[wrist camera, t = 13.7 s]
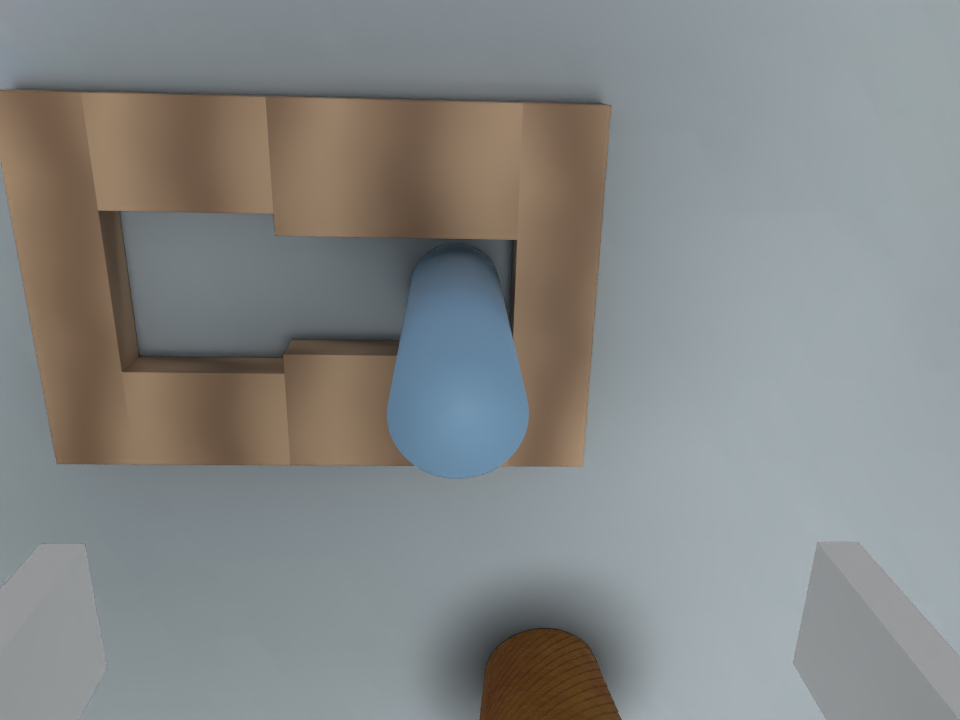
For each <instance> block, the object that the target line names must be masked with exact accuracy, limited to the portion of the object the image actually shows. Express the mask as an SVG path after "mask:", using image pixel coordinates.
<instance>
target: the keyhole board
mask: <svg viewBox="0 0 960 720" xmlns="http://www.w3.org/2000/svg"><path fill="white" fill-rule="evenodd" d="M610 116H611V105H606V104H591V103H551V102H510V101H469V100H429V99H388V98H348V97H307V96H266V95H226V94H185V93H144V92H104V91H63V90H23V89H10V90H0V162H1V167H2V172H3V178H4V183H5V189H6V194H7V199H8V205H9V210H10V215H11V221H12V226H13V232H14V237H15V242H16V248H17V253H18V259H19V264H20V269H21V275H22V280H23V285H24V291H25V296H26V302H27V307H28V312H29V318H30V323H31V329H32V334H33V339H34V345H35V350H36V355H37V361H38V366H39V372H40V377H41V382H42V388H43V393H44V399H45V404H46V409H47V415H48V420H49V425H50V431H51V436H52V442H53V447H54V452H55V458H56V463H57V464H150V465H360V466H415V465H413V464H412V463H411V462H409V461H408V460H407V459H406V458H405V457H404V456H403V455H402V454H401V452H400V451H399V450H398V448H397V447H396V445H395V443H394V442H393V440H392V437H391V435H390V432H389V428H388V423H387V405H388V400H389V395H390V390H391V385H392V379H393V374H394V369H395V364H396V358H397V353H398V348H399V343H400V341H361V340H291V342H290V344H289V345H288V347H287V349H286V350H285V352H284V354H283V358H235V357H140V356H139V352H138V344H137V337H136V330H135V322H134V315H133V308H132V300H131V293H130V286H129V278H128V271H127V264H126V257H125V249H124V242H123V235H122V227H121V220H120V213H119V211H152V212H206V213H261V214H273V215H274V230H275V236H323V237H381V238H440V239H498V240H513V258H512V283H511V308H510V328H511V333H512V337H513V341H514V345H515V350H516V354H517V358H518V362H519V367H520V371H521V375H522V379H523V384H524V388H525V392H526V396H527V401H528V407H529V419H528V426H527V430H526V433H525V436H524V438H523V440H522V442H521V444H520V445H519V447H518V449H517V450H516V451H515V452H514V454H513V455H512V456H511V457H510V458H509V459H508V460H507V461H506V462H504V463H503V464H502V465H500V466H569V467H583V457H584V444H585V432H586V419H587V407H588V394H589V381H590V369H591V356H592V343H593V331H594V318H595V305H596V293H597V280H598V268H599V255H600V242H601V230H602V217H603V204H604V192H605V179H606V167H607V154H608V141H609V129H610Z"/></svg>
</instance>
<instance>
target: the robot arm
mask: <svg viewBox="0 0 960 720" xmlns="http://www.w3.org/2000/svg"><path fill="white" fill-rule="evenodd" d="M793 664H794V666H795V667H796V669H797V671H798V672H799V674H800V676H801V677H802V679H803V681H804V683H805V684H806V686H807V688H808V689H809V691H810V693H811V694H812V696H813V698H814V699H815V701H816V703H817V705H818V706H819V708H820V710H821V711H822V713H823V715H824V716H825V718H826V720H960V656H959V655H958V654H957V653H956V652H955V651H954V649H953V648H952V647H951V646H950V645H949V644H948V643H947V642H946V640H945V639H944V638H943V637H942V636H941V635H940V634H939V632H938V631H937V630H936V629H935V628H934V627H933V626H932V625H931V623H930V622H929V621H928V620H927V619H926V618H925V617H924V616H923V614H922V613H921V612H920V611H919V610H918V609H917V608H916V607H915V605H914V604H913V603H912V602H911V601H910V600H909V599H908V597H907V596H906V595H905V594H904V593H903V592H902V591H901V590H900V588H899V587H898V586H897V585H896V584H895V583H894V582H893V581H892V579H891V578H890V577H889V576H888V575H887V574H886V573H885V571H884V570H883V569H882V568H881V567H880V566H879V565H878V564H877V562H876V561H875V560H874V559H873V558H872V557H871V556H870V555H869V553H868V552H867V551H866V550H865V549H864V548H863V547H862V546H861V544H860V543H859V542H817V546H816V551H815V556H814V561H813V566H812V571H811V576H810V581H809V586H808V591H807V596H806V601H805V605H804V610H803V615H802V620H801V625H800V630H799V635H798V640H797V645H796V650H795V655H794V660H793ZM106 671H107V665H106V660H105V654H104V648H103V643H102V637H101V631H100V626H99V620H98V614H97V609H96V603H95V597H94V592H93V586H92V580H91V575H90V569H89V563H88V558H87V552H86V546H85V544H40V545H39V546H38V547H37V548H36V549H35V550H34V551H33V553H32V554H31V555H30V556H29V557H28V558H27V560H26V561H25V562H24V563H23V564H22V565H21V566H20V568H19V569H18V570H17V571H16V572H15V573H14V574H13V576H12V577H11V578H10V579H9V580H8V581H7V583H6V584H5V585H4V586H3V587H2V588H1V589H0V720H79V718H80V716H81V715H82V713H83V711H84V709H85V708H86V706H87V704H88V702H89V701H90V699H91V697H92V695H93V694H94V692H95V690H96V688H97V687H98V685H99V683H100V681H101V680H102V678H103V676H104V674H105V673H106Z"/></svg>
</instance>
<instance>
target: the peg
mask: <svg viewBox="0 0 960 720" xmlns="http://www.w3.org/2000/svg"><path fill="white" fill-rule="evenodd" d="M528 419H529V407H528V401H527V396H526V392H525V388H524V384H523V379H522V375H521V371H520V367H519V362H518V358H517V354H516V350H515V345H514V341H513V337H512V333H511V328H510V324H509V320H508V316H507V311H506V307H505V303H504V299H503V294H502V290H501V286H500V282H499V277H498V274H497V271H496V269H495V267H494V265H493V263H492V262H491V261H490V259H489V258H488V257H487V256H486V255H485V254H484V253H482V252H481V251H479V250H478V249H476V248H474V247H471V246H468V245H464V244H446V245H442V246H439V247H437V248H435V249H433V250H431V251H430V252H428V253H427V254H426V255H425V256H424V257H423V258H422V259H421V260H420V261H419V263H418V264H417V266H416V268H415V270H414V272H413V275H412V280H411V285H410V290H409V296H408V301H407V306H406V311H405V317H404V322H403V327H402V332H401V338H400V343H399V348H398V353H397V358H396V364H395V369H394V374H393V379H392V385H391V390H390V395H389V400H388V405H387V423H388V428H389V432H390V435H391V437H392V440H393V442H394V443H395V445H396V447H397V448H398V450H399V451H400V452H401V454H402V455H403V456H404V457H405V458H406V459H407V460H408V461H409V462H411V463H412V464H413V465H415V466H416V467H418V468H419V469H421V470H423V471H425V472H427V473H430V474H433V475H436V476H439V477H445V478H454V479H461V478H470V477H476V476H479V475H482V474H485V473H487V472H490V471H492V470H494V469H495V468H497V467H499V466H500V465H502V464H503V463H504V462H506V461H507V460H508V459H509V458H510V457H511V456H512V455H513V454H514V452H515V451H516V450H517V449H518V447H519V445H520V444H521V442H522V440H523V438H524V436H525V433H526V430H527V426H528Z"/></svg>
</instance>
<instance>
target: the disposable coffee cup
mask: <svg viewBox="0 0 960 720" xmlns="http://www.w3.org/2000/svg"><path fill="white" fill-rule="evenodd" d="M480 720H622V719H621V717H620V715H619V713H618V710H617V708H616V706H615V703H614V701H613V699H612V697H611V694H610V692H609V690H608V688H607V685H606V683H605V681H604V679H603V676H602V674H601V671H600V669H599V666H598V664H597V661H596V658H595V657H594V655H593V653H592V651H591V649H590V648H589V647H588V646H587V645H586V644H585V643H584V642H583V641H581V640H580V639H579V638H577V637H575V636H573V635H571V634H569V633H566V632H563V631H560V630H553V629H535V630H530V631H526V632H522V633H520V634H517V635H515V636H513V637H511V638H509V639H507V640H506V641H504V642H503V643H502V644H501V645H500V646H498V647H497V648H496V650H495V651H494V652H493V653H492V654H491V656H490V658H489V661H488V663H487V665H486V668H485V676H484V685H483V694H482V704H481V713H480Z"/></svg>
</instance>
